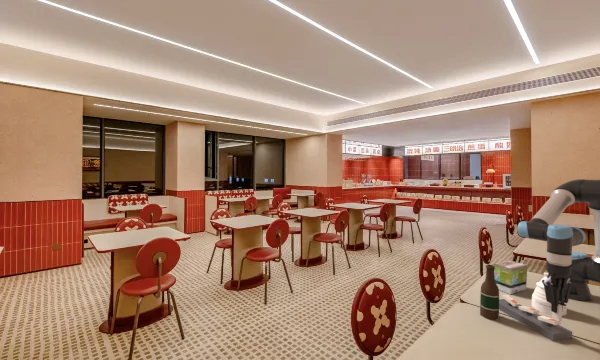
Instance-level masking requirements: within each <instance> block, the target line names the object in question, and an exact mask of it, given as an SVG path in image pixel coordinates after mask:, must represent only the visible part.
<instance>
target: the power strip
mask: <svg viewBox="0 0 600 360" xmlns="http://www.w3.org/2000/svg"><path fill="white" fill-rule="evenodd" d="M520 306H523V305H521V304H520ZM499 311H501V312H503V313H505V314H506V315H508V316H509V317H511V318H513V319H515V320H516V321H518V322H520V323H522V324H523V325H525V326H526V327H528V328H530V329H531V330H534V331H535V332H537V333H539V334H540V335H542V336H544V337H545V338H547V339H549V340H550V341H552V342H557V341H563V340H572V339H573V331H571V330H570V329H569V328H568V329H567V328H566V327H564V326H562V325H561V324H559V325H553V324H550V323H547V322H544V321H541V320H538V316H542V315H541V314H540V313H534V314H533V313H530V312H527V311H523V310H520V309H519V307H518V306H515V307H514V306H513V305H511V304H510V303H509V302H508V301H506V300H505V299H504V298H499Z"/></svg>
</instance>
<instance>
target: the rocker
mask: <svg viewBox="0 0 600 360" xmlns="http://www.w3.org/2000/svg"><path fill="white" fill-rule="evenodd" d="M501 299H505V300H506V301H508V302H509V303H510V304H511V305H513V306H514V307H515V306H520V305H521V303H519V302H518V301H517V300H516V299H514V298H513V297H511V295H510V294H508V293H506V294H501Z"/></svg>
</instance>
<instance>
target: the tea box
mask: <svg viewBox="0 0 600 360" xmlns="http://www.w3.org/2000/svg"><path fill="white" fill-rule="evenodd" d="M493 266H495V269H494V276H495V283H496V285H497V286H498V289H499V292H500V291H501V292H502V291H503V293H505V294H508V295H513V294H515V293H519V292H523V291H526V290H527V281H528V264H524V263H522V262H517V261H513V260H511V259H507V260H505V261H504V260H503V261H498V262H495V263H493Z"/></svg>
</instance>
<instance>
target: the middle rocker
mask: <svg viewBox="0 0 600 360" xmlns="http://www.w3.org/2000/svg"><path fill="white" fill-rule="evenodd" d="M518 307H519V309H520V310H523V311H527V312H530V313H533V314H534V313H537V314H540V311H539V310H537V309H535V308H534V307H529V306H526V305H522V306H518Z"/></svg>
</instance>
